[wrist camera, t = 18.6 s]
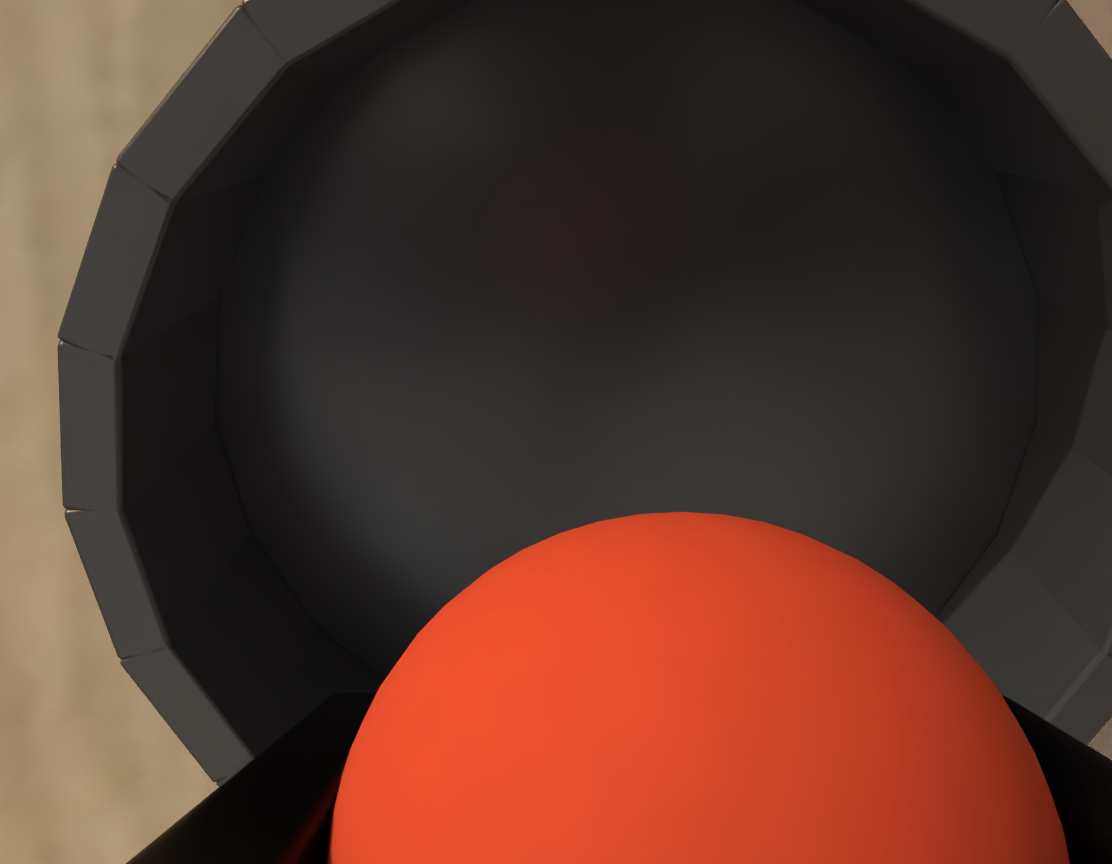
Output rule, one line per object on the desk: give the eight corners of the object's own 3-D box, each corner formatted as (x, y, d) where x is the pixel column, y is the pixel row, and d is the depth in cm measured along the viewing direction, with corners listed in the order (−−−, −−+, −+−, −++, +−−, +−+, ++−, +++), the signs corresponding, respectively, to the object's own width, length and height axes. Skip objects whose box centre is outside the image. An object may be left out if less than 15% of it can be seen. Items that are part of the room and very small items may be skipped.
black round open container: (612, 891, 20) (621, 1079, 16) (2, 410, 16) (-165, 510, 13) (1256, 410, 16) (1463, 514, 12) (635, -356, 12) (661, -534, 9)
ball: (646, 939, 10) (700, 1639, 6) (288, 658, 9) (-2, 1254, 5) (1029, 663, 9) (1497, 1281, 5) (669, 296, 8) (797, 620, 3)
